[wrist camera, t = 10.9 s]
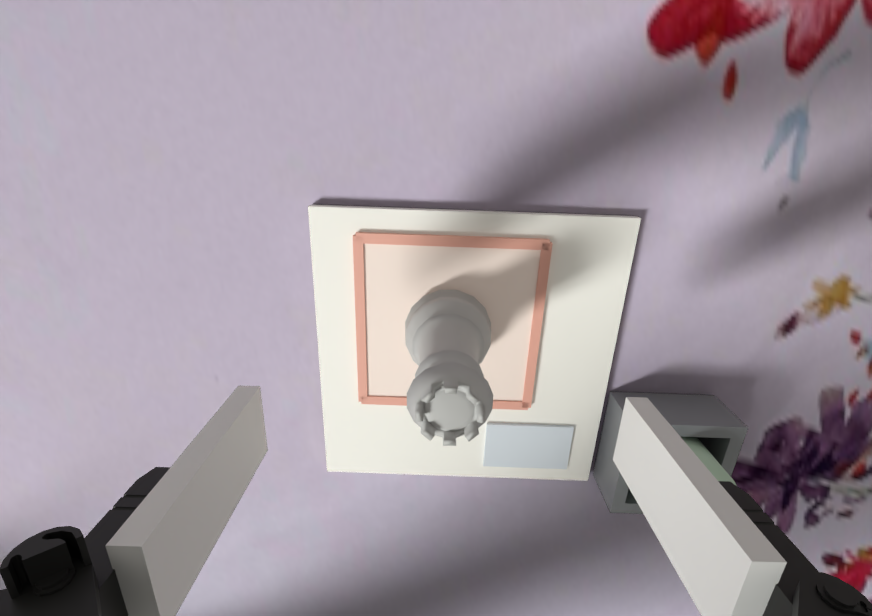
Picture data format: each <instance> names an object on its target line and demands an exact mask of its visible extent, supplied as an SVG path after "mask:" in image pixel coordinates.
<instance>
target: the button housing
mask: <svg viewBox="0 0 872 616" xmlns="http://www.w3.org/2000/svg"><path fill="white" fill-rule="evenodd" d="M626 397H644V398H648V399H649V400H650V401H651V403H652V404H653V405H654V406H655V407H656V409H657V410H658V411H659V412H660V413H661V414H662V416H663V417H664V418H665V419H666V420H667V421H668V423H669V424H670V425H671V426H672V427H673V429H674V430H675V431H676V432H677V433H678V434H679V436H681V437H697V438H698V439H699V440H700V441H701V443H702V444H703V445H704V446H705V447H706V448H707V450H708V451H709V452H710V453H711V454H712V455H713V457H714V458H715V459H716V460H717V461H718V462H719V464H720V465H721V466H722V467H723V468H724V470H725V471H726V472H727V473H728V474H729V475H730V477H731V475H732V472H733V470H734V467H735V464H736V461H737V458H738V455H739V452H740V450H741V447H742V444H743V441H744V438H745V435H746V433H747V430H748V427H747V426H746V425H745V424H744V423H743V422H742V421H741V420H740V419H739V418H738V417H737V416H736V415H734V414H733V413H732V412H731V411H730V410H729V409H728V408H727V407H726V406H725V405H724V404H723V403H722V402H721V401H720V400H719V399H717V398H716V397H715V396H714V395H691V394H663V393H636V392H610V394H609V399H608V403H607V408H606V413H605V418H604V423H603V428H602V432H601V437H600V442H599V447H598V452H597V457H596V461H595V466H594V471H593V476H594V478H595V480H596V482H597V485H598V487H599V489H600V491H601V493H602V496H603V498H604V500H605V502H606V505H607V507H608V509H609V511H610V513H636V514H643V512H642V510H641V508H640V507H639V505H638V503H637V501H636V500H635V498H634V496H633V494H632V493H631V491H630V489H629V487H628V485H627V484H626V482H625V480H624V478H623V477H622V475H621V473H620V471H619V470H618V468H617V466H616V464H615V463H614V461H613V456H614V452H615V447H616V442H617V438H618V433H619V428H620V423H621V419H622V414H623V409H624V405H625V400H626Z"/></svg>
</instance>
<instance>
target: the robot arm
mask: <svg viewBox="0 0 872 616" xmlns="http://www.w3.org/2000/svg"><path fill="white" fill-rule="evenodd" d="M267 451H268V449H267V440H266V432H265V424H264V416H263V407H262V399H261V391H260V386H238V387H237V388H236V389H235V390H234V392H233V393H232V394H231V395H230V396H229V398H228V399H227V400H226V401H225V402H224V404H223V405H222V406H221V407H220V408H219V410H218V411H217V412H216V413H215V414H214V416H213V417H212V418H211V419H210V420H209V422H208V423H207V424H206V425H205V426H204V428H203V429H202V430H201V431H200V432H199V434H198V435H197V436H196V437H195V438H194V440H193V441H192V442H191V443H190V444H189V446H188V447H187V448H186V449H185V450H184V452H183V453H182V454H181V455H180V457H179V458H178V459H177V460H176V461H175V463H174V464H173V465H172V466H171V467H170V468H166V467H155V468H154V469H152V470H151V471H150V472H148V473H147V474H145V475H144V476H142V477H141V478H139V479H138V480H137V481H136V482H135V483H134V484H133V485H132V486H131V487H130V488H129V489H128V491H127V492H126V493H125V494H124V497H121V498H120V499H119V501H118V502H117V503H116V504H115V505H114V506H113V509H112V510H110V511H109V512H108V513H107V514H106V515H105V516H104V517H103V518H102V519H101V521H100V522H99V523H98V524H97V525H96V526H95V527H94V528H93V529H92V531H91V532H90V533H89V534H88V535H87V536H86V537H85V538H84V537H83V534H82V533H81V531H80V529H78V528H75V527H72V526H65V527H56V528H53V529H49V530H46V531H43V532H41V533H38V534H36V535H34V536H32V537H30V538H28V539H27V540H25V541H24V542H22V543H21V544H20V545H18V546H17V547H15V548H14V549H13V550H12V551H11V552H10V553H9V554H8V555H7V556H6V557H5V559H4V560H3V562H2V564H1V567H0V573H1V576H2V578H3V580H4V583H5V585H6V587H7V589H4V590H0V616H176V614H177V612H178V610H179V609H180V607H181V605H182V603H183V601H184V600H185V598H186V596H187V594H188V592H189V591H190V589H191V587H192V585H193V583H194V582H195V580H196V578H197V576H198V574H199V573H200V571H201V569H202V567H203V565H204V564H205V562H206V560H207V558H208V556H209V555H210V553H211V551H212V549H213V548H214V546H215V544H216V542H217V540H218V539H219V537H220V535H221V533H222V531H223V530H224V528H225V526H226V524H227V522H228V521H229V519H230V517H231V515H232V513H233V512H234V510H235V508H236V506H237V504H238V503H239V501H240V499H241V497H242V495H243V494H244V492H245V490H246V488H247V486H248V485H249V483H250V481H251V479H252V477H253V476H254V474H255V472H256V470H257V469H258V467H259V465H260V463H261V461H262V460H263V458H264V456H265V454H266V452H267ZM613 461H614V463H615V464H616V466H617V468H618V470H619V471H620V473H621V475H622V477H623V478H624V480H625V482H626V484H627V485H628V487H629V489H630V491H631V493H632V494H633V496H634V498H635V500H636V501H637V503H638V505H639V507H640V508H641V510H642V512H643V514H644V515H645V517H646V519H647V521H648V522H649V524H650V526H651V528H652V529H653V531H654V533H655V535H656V537H657V538H658V540H659V542H660V544H661V545H662V547H663V549H664V551H665V552H666V554H667V556H668V558H669V559H670V561H671V563H672V565H673V566H674V568H675V570H676V572H677V573H678V575H679V577H680V579H681V581H682V582H683V584H684V586H685V588H686V589H687V591H688V593H689V595H690V596H691V598H692V600H693V602H694V603H695V605H696V607H697V609H698V610H699V612H700V614H701V616H872V604H871V603H870V602H869V601H868V599H867V598H866V597H865V596H864V595H862V594H861V593H860V592H859V591H857V590H856V589H855V588H854V587H852V586H851V585H849V584H847V583H845V582H844V581H842V580H840V579H838V578H836V577H834V576H831V575H828V574H825V573H822V572H818V571H817V569H816V568H815V567H814V566H813V565H812V564H811V563H810V562H809V561H808V559H807V558H806V557H805V556H804V555H803V554H802V553H801V552H800V551H799V550H798V548H797V547H796V546H795V545H794V544H793V543H792V542H791V541H790V540H789V538H788V537H787V536H786V535H785V534H784V533H783V532H782V531H781V530H780V529H779V527H778V526H775V525H774V522H773V521H772V520H771V519H770V517H769V516H768V515H767V514H766V513H763V510H762V509H761V507H760V506H759V505H758V504H757V503H756V502H755V501H754V500H753V499H752V498H751V496H750V495H749V494H747V493H746V492H744V491H743V490H742V489H740V488H739V487H737V486H736V485H734V484H733V483H732V482H730V481H718V480H717V479H716V478H715V477H714V476H713V475H712V473H711V472H710V471H709V470H708V469H707V467H706V466H705V465H704V464H703V463H702V462H701V460H700V459H699V458H698V457H697V456H696V455H695V453H694V452H693V451H692V450H691V449H690V447H689V446H688V445H687V444H686V443H685V442H684V440H683V439H682V438H681V437H680V436H679V434H678V433H677V432H676V431H675V430H674V429H673V427H672V426H671V425H670V424H669V423H668V421H667V420H666V419H665V418H664V417H663V416H662V414H661V413H660V412H659V411H658V410H657V409H656V407H655V406H654V405H653V404H652V403H651V401H650V400H649V399H648V398H644V397H626V400H625V405H624V409H623V414H622V419H621V423H620V428H619V433H618V438H617V442H616V447H615V452H614V456H613Z"/></svg>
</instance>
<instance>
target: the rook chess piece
mask: <svg viewBox="0 0 872 616" xmlns="http://www.w3.org/2000/svg"><path fill="white" fill-rule="evenodd" d="M405 344H406V347H407V349H408V351H409V353H410V355H411V357H412V359H413V361H414V362H415V363H416V364H417V365H418V366H419V367H418V369H417V371H416V373H415V379H413V381H412V383H411V385H410V388H409V390H408V392H407V409H408V411H409V413H410V415H411V417H412V419H413V421H414V422H415V423H416V424H417V425H418V426H420V427H421V434H422V435H424V436H425V437H426V438H427V439H428V440H430V441H431V440H432V438H433V437H434V436H435V435H437V436H439V437H443V446H456V438H457V437H460V436H463V435H465V437H466V439H467V440H468V441H471V440H472V439H473V438H475V437H476V436H477V435H478V434H479V430H478V428H479V427H480V426H481V425H483V424H484V423H485V422H486V420H487V418H488V417H489V415H490V413H491V411H492V408H493V393H492V390H491V388H490V386H489V383H488V381H487V380H486V379H485V378H484V375H483V372H482V370H481V367H480V365H479V364H480V363H482V361H483V360H484V358H485V356H486V354H487V352H488V350H489V348H490V346H491V322H490V319H489V316H488V314H487V311H486V309H485V307H484V306H483V305H482V304H481V303H480V302H479V301H478V300H477V299H476V298H475V297H474V296H471V295H469V294H466V293H464V292H461V291H459V290H438V291H435V292H432V293H430V294H427V295H424V296H423V297H422V298H421V299H420V300H419V301H418V302H417V303H415V304H414V305H413V306H412V307H411V310H410V312H409V314H408V316H407V319H406V321H405Z"/></svg>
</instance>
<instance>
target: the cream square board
mask: <svg viewBox="0 0 872 616" xmlns="http://www.w3.org/2000/svg"><path fill="white" fill-rule="evenodd" d="M308 213H309V227H310V241H311V254H312V268H313V282H314V296H315V310H316V324H317V338H318V352H319V365H320V379H321V393H322V407H323V421H324V435H325V449H326V462H327V471H331V472H358V473H385V474H413V475H440V476H467V477H495V478H522V479H549V480H576V481H588V478H589V473H590V468H591V463H592V458H593V453H594V448H595V443H596V438H597V433H598V429H599V424H600V419H601V414H602V409H603V404H604V399H605V394H606V389H607V384H608V379H609V374H610V369H611V364H612V359H613V355H614V350H615V345H616V340H617V335H618V330H619V325H620V320H621V315H622V310H623V305H624V300H625V295H626V290H627V285H628V281H629V276H630V271H631V266H632V261H633V256H634V251H635V246H636V241H637V236H638V231H639V226H640V221H641V218H639V217H637V216H616V215H588V214H560V213H532V212H504V211H476V210H449V209H421V208H393V207H365V206H337V205H310V206H308ZM438 290H459V291H461V292H464V293H466V294H469V295H471V296H474V297H475V298H476V299H477V300H478V301H479V302H480V303H481V304H482V305H483V306H484V307H485V309H486V311H487V314H488V316H489V319H490V322H491V346H490V348H489V350H488V352H487V354H486V356H485V358H484V360H483V361H482V363H480V364H479V365H480V367H481V370H482V372H483V375H484V378H485V379H486V380H487V381H488V383H489V386H490V388H491V390H492V393H493V408H492V411H491V413H490V415H489V417H488V418H487V420H486V422H485V423H484V424H483V425H481V426H480V427H479V428H478V430H479V434H478V435H477V436H476V437H475V438H473V439H472V440H471V441H468V440H467V439H466V437H465V435H463V436H460V437H457V438H456V446H443V437H439V436H437V435H435V436H434V437H433V438H432V440H431V441H430V440H428V439H427V438H426V437H425V436H424V435H422V434H421V427H420V426H418V425H417V424H416V423H415V422H414V421H413V419H412V417H411V415H410V413H409V411H408V409H407V392H408V390H409V388H410V385H411V383H412V381H413V379H415V373H416V371H417V369H418V367H419V366H418V365H417V364H416V363H415V362H414V361H413V359H412V357H411V355H410V353H409V351H408V349H407V347H406V344H405V321H406V319H407V316H408V314H409V312H410V310H411V307H412V306H413V305H414V304H415V303H417V302H418V301H419V300H420V299H421V298H422V297H423V296H424V295H427V294H430V293H432V292H435V291H438Z"/></svg>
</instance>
